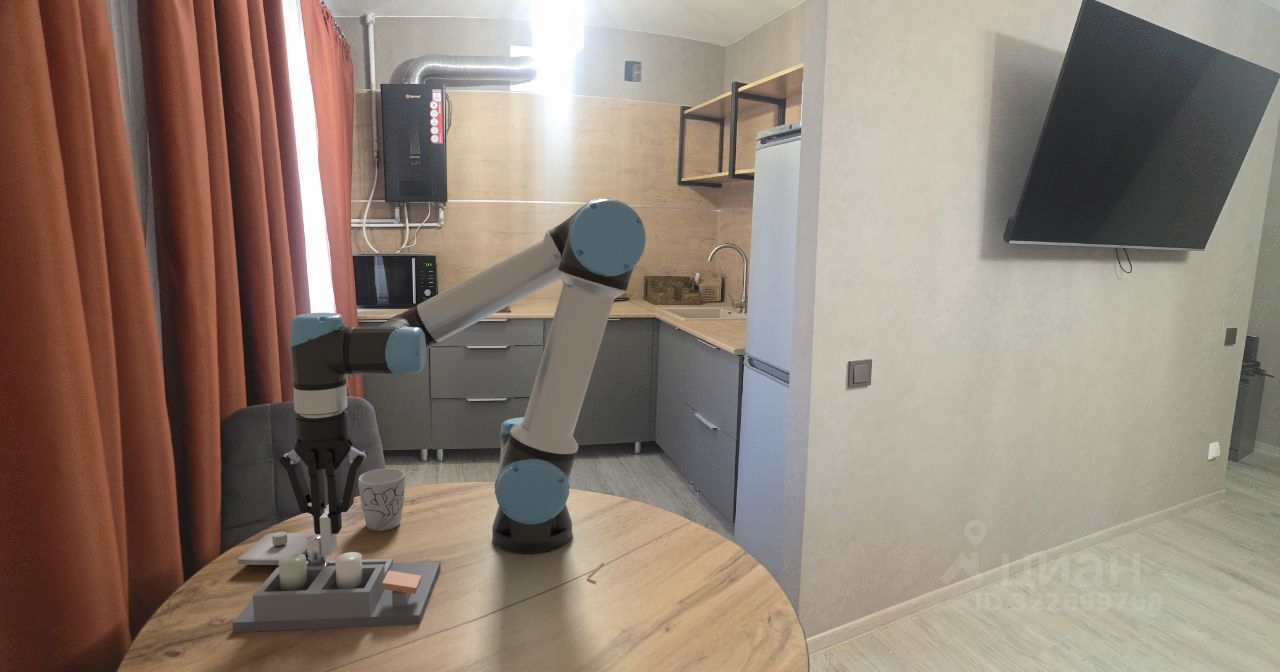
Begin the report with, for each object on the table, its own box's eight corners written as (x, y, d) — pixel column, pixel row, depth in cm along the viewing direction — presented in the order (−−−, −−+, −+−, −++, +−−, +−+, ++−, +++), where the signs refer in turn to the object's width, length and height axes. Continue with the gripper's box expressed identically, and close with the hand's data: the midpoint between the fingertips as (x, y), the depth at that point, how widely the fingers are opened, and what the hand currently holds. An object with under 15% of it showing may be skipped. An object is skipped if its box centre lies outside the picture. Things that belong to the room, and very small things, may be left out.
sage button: (311, 577, 100) (309, 553, 99) (301, 590, 96) (300, 565, 96) (286, 578, 99) (284, 554, 99) (276, 591, 96) (274, 566, 95)
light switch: (295, 576, 110) (293, 547, 109) (236, 575, 109) (234, 546, 109) (322, 547, 119) (321, 521, 118) (268, 547, 119) (266, 520, 118)
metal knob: (329, 568, 109) (327, 533, 108) (323, 577, 106) (321, 541, 105) (312, 568, 108) (309, 533, 107) (305, 577, 106) (303, 541, 105)
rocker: (420, 582, 102) (421, 575, 102) (414, 596, 98) (416, 588, 98) (387, 577, 101) (388, 570, 101) (380, 591, 97) (382, 583, 97)
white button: (365, 576, 101) (364, 551, 100) (358, 588, 97) (357, 563, 97) (341, 576, 100) (340, 552, 100) (333, 589, 97) (331, 564, 96)
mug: (382, 507, 137) (381, 461, 135) (421, 510, 136) (419, 464, 134) (351, 532, 126) (349, 482, 124) (393, 535, 124) (391, 485, 123)
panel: (440, 569, 112) (439, 539, 112) (419, 624, 97) (418, 589, 96) (281, 574, 110) (279, 543, 109) (233, 632, 94) (230, 596, 93)
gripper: (371, 404, 108) (377, 539, 111) (288, 405, 106) (296, 542, 110) (357, 417, 100) (363, 561, 104) (267, 418, 99) (277, 564, 102)
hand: (329, 551), depth 107 cm, fingers closed
